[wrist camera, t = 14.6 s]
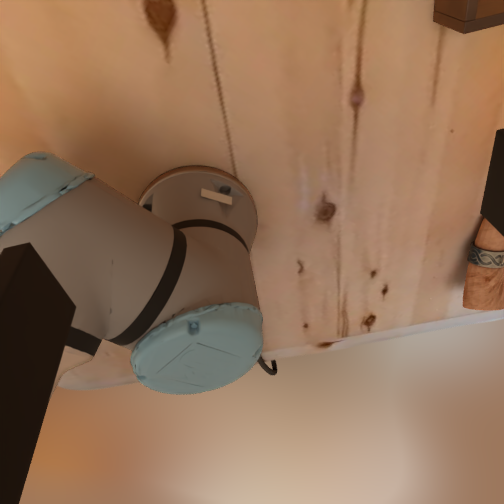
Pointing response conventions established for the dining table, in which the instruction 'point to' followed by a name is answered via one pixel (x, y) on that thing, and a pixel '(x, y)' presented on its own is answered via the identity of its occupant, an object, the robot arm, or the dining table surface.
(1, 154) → the dining table surface
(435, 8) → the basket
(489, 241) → the curved blowing horn
